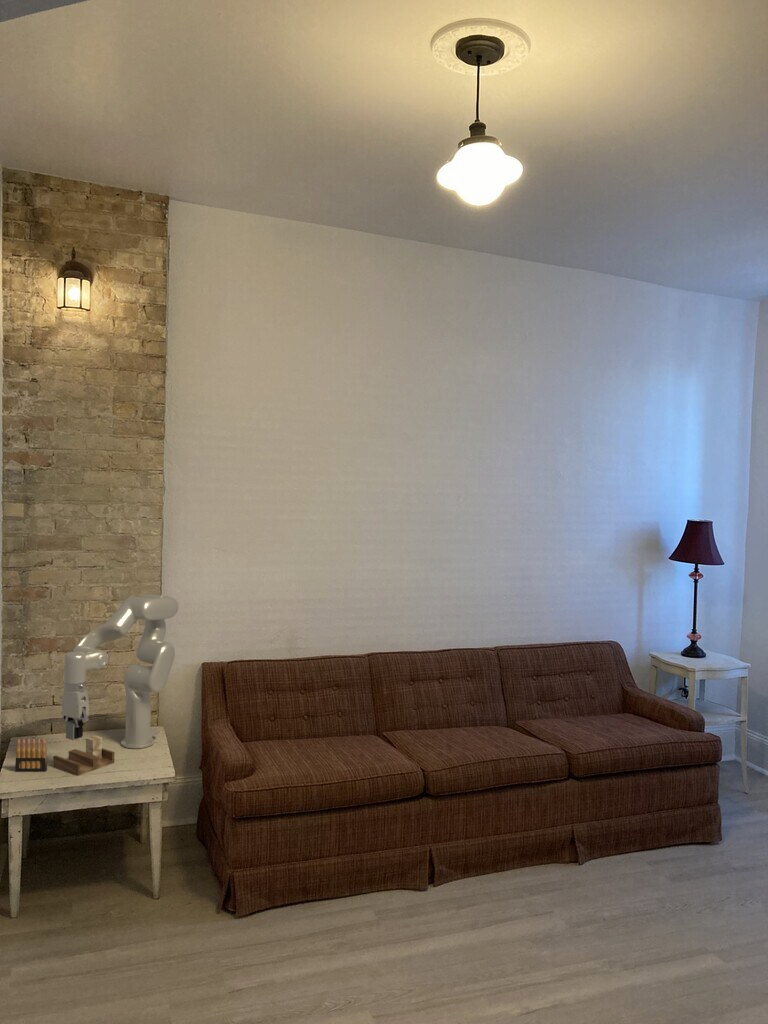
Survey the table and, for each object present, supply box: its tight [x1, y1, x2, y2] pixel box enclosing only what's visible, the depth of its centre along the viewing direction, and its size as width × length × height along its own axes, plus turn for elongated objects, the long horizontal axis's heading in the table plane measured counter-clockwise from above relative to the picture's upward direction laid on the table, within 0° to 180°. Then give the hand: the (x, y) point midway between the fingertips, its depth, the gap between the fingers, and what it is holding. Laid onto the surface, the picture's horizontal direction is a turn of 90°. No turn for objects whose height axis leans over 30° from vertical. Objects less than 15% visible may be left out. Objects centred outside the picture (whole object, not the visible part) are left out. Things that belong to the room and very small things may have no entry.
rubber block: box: [65, 719, 83, 741], centre depth 299 cm, size 4×4×6 cm
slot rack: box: [52, 747, 115, 777], centre depth 303 cm, size 16×14×4 cm
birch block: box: [85, 734, 103, 759], centre depth 307 cm, size 4×4×8 cm
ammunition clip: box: [14, 737, 48, 773], centre depth 296 cm, size 11×2×12 cm, turn 96°
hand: (74, 735), depth 299 cm, fingers closed on rubber block, 4 cm apart
